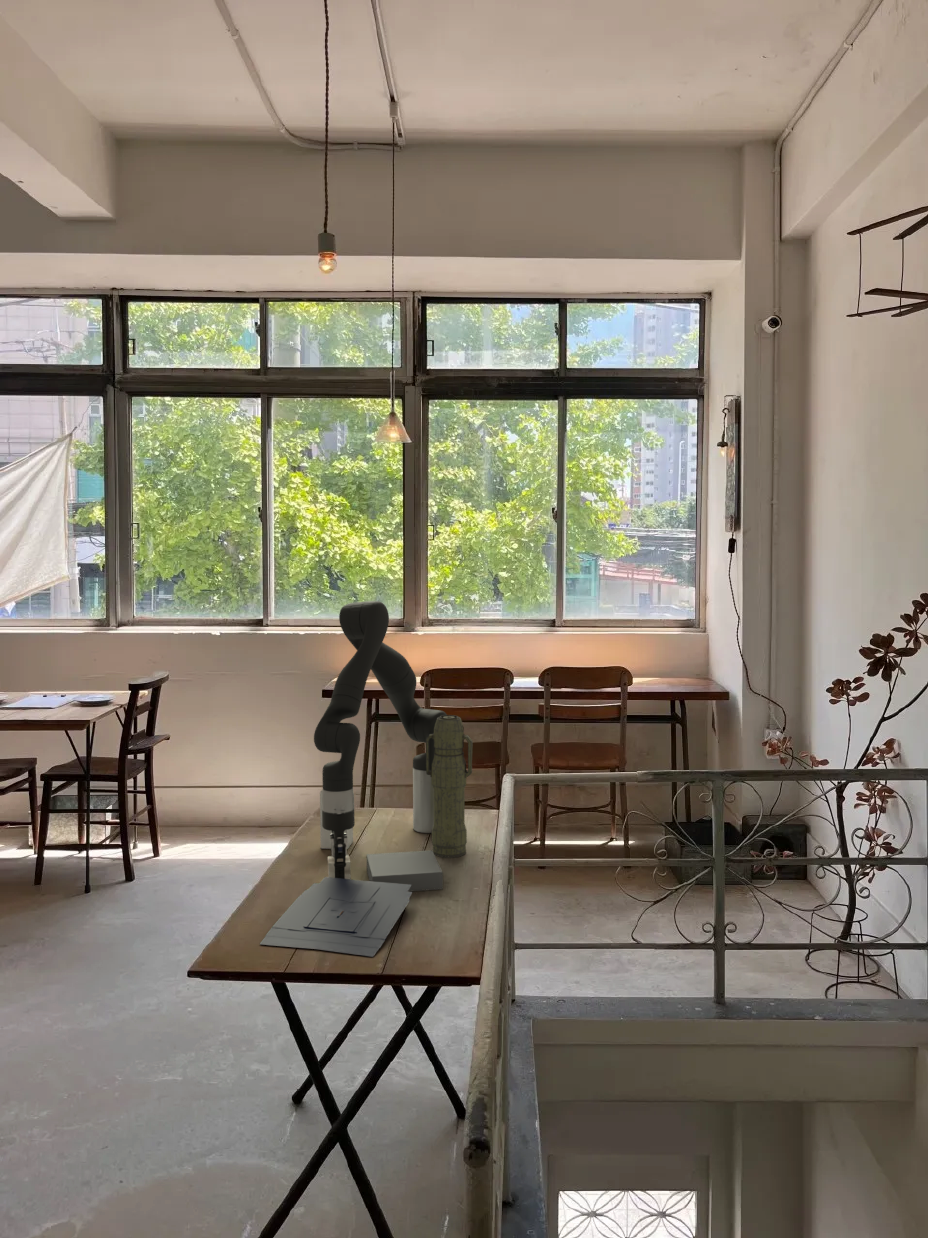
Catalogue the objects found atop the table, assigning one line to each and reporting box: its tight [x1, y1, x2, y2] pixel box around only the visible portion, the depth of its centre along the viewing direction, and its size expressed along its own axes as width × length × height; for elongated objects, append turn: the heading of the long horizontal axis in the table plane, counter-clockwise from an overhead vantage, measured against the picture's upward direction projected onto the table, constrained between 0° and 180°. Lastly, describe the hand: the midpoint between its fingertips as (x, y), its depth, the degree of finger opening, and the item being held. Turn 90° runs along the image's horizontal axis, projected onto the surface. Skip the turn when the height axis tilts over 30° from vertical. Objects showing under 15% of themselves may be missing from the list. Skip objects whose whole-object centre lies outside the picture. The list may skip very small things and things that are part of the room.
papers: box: [259, 876, 413, 958], centre depth 205 cm, size 24×30×4 cm
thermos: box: [425, 714, 474, 859], centre depth 250 cm, size 9×12×35 cm
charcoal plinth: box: [366, 849, 444, 892], centre depth 231 cm, size 16×16×4 cm
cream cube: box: [327, 854, 352, 879], centre depth 230 cm, size 5×5×5 cm
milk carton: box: [319, 789, 354, 850], centre depth 256 cm, size 7×7×19 cm
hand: (339, 878), depth 230 cm, fingers closed on cream cube, 5 cm apart
